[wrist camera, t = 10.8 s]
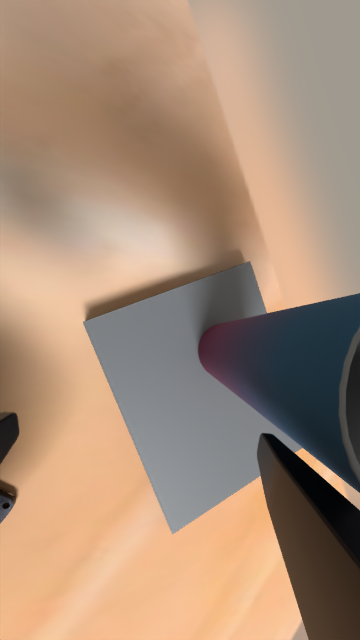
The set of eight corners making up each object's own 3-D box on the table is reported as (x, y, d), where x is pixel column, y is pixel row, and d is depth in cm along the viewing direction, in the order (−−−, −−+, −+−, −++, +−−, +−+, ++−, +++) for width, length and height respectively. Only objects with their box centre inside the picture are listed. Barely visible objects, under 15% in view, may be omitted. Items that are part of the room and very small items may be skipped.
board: (298, 435, 25) (309, 442, 24) (168, 519, 21) (172, 534, 20) (241, 264, 23) (249, 261, 22) (85, 321, 19) (82, 321, 18)
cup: (265, 328, 22) (535, 327, 7) (245, 396, 21) (498, 547, 7) (202, 302, 21) (376, 240, 6) (177, 375, 20) (308, 502, 5)
